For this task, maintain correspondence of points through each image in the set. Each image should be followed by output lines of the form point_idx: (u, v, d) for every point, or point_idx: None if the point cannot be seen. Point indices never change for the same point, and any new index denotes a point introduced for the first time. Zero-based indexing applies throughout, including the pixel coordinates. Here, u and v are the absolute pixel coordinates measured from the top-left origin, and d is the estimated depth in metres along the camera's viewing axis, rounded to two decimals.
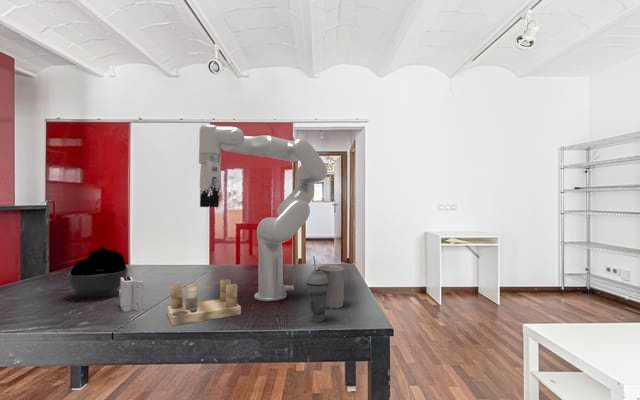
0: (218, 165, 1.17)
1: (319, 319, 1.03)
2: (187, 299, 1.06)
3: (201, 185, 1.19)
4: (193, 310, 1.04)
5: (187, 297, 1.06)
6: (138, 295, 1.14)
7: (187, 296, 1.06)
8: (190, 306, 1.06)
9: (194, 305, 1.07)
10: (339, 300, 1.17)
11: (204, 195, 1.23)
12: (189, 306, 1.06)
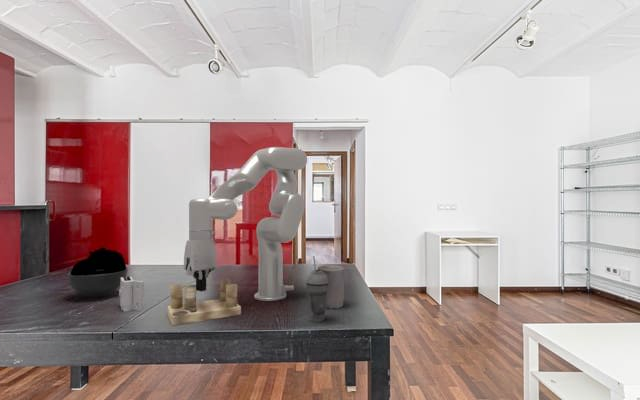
0: None
1: (319, 319, 1.03)
2: (186, 300, 1.06)
3: (200, 265, 1.08)
4: (193, 310, 1.04)
5: (186, 297, 1.06)
6: (138, 295, 1.14)
7: (186, 296, 1.06)
8: (189, 306, 1.06)
9: (193, 305, 1.07)
10: (339, 300, 1.17)
11: None
12: (188, 306, 1.06)
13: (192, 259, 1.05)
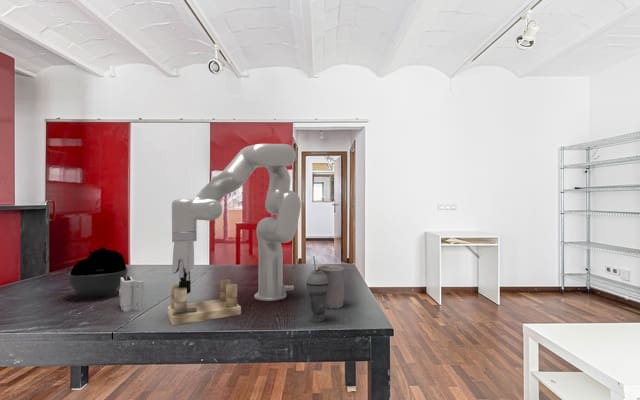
0: None
1: (319, 319, 1.03)
2: (182, 302, 1.03)
3: (190, 266, 1.06)
4: (196, 309, 1.04)
5: (182, 300, 1.03)
6: (138, 295, 1.14)
7: (182, 299, 1.03)
8: (185, 308, 1.03)
9: (186, 307, 1.05)
10: (339, 300, 1.17)
11: None
12: (184, 309, 1.03)
13: (187, 261, 1.03)
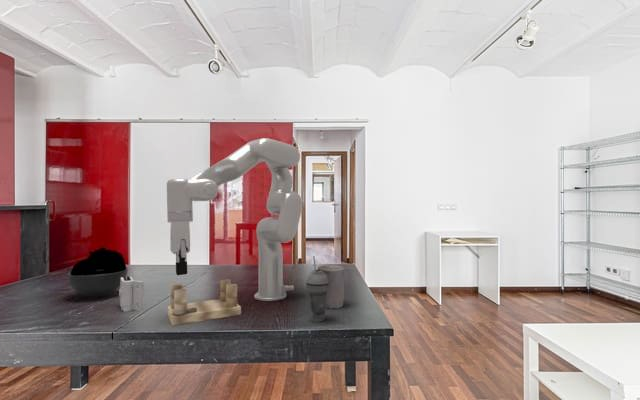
0: None
1: (319, 319, 1.03)
2: (185, 303, 1.02)
3: None
4: (196, 309, 1.05)
5: (185, 301, 1.02)
6: (138, 295, 1.14)
7: (184, 300, 1.02)
8: (186, 309, 1.03)
9: None
10: (339, 300, 1.17)
11: None
12: (186, 310, 1.02)
13: (189, 240, 1.03)
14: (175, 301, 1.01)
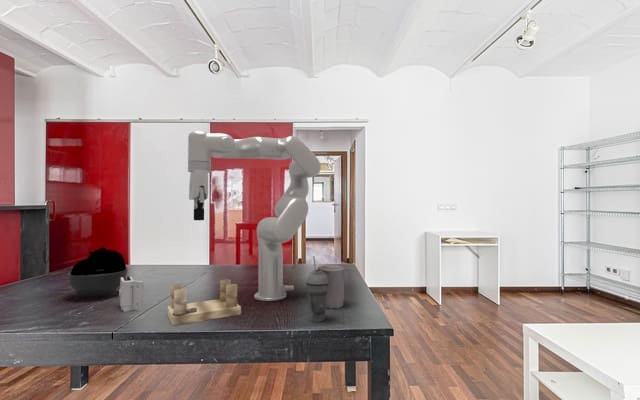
0: None
1: (319, 319, 1.03)
2: (185, 303, 1.02)
3: None
4: (196, 309, 1.05)
5: (185, 301, 1.02)
6: (138, 295, 1.14)
7: (184, 300, 1.02)
8: (186, 309, 1.03)
9: None
10: (339, 300, 1.17)
11: None
12: (186, 310, 1.02)
13: (207, 187, 1.12)
14: (175, 301, 1.01)
